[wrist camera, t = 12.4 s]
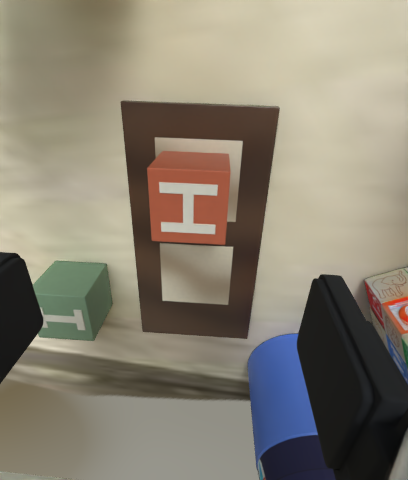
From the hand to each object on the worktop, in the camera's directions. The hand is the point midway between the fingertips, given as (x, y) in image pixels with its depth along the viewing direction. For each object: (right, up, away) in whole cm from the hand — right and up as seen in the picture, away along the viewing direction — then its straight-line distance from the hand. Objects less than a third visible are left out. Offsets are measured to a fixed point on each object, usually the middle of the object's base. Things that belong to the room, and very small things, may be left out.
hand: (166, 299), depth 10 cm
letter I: (-9, -2, +17) cm, 19 cm away
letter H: (+1, +6, +11) cm, 13 cm away
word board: (+1, +2, +14) cm, 14 cm away
